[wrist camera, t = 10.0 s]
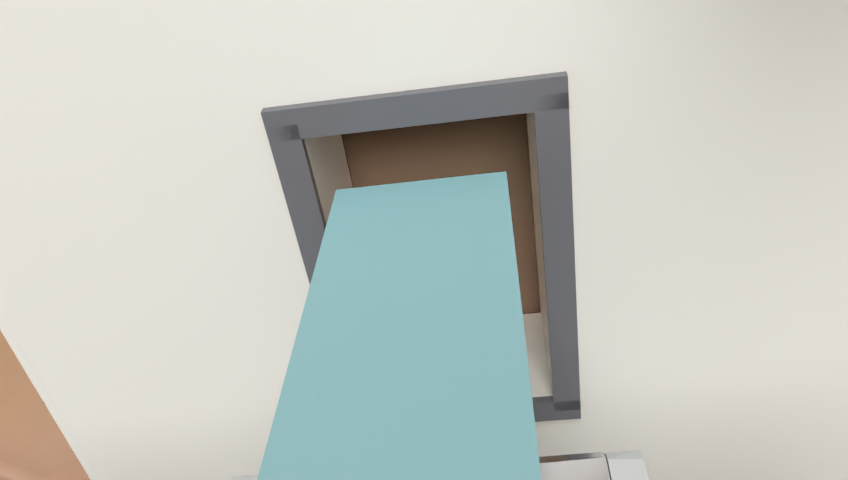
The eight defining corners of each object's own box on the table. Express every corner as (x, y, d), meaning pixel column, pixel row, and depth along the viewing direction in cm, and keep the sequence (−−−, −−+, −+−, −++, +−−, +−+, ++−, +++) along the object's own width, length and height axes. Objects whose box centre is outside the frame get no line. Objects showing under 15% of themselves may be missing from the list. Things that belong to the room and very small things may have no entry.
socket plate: (997, -342, 12) (1154, -367, 9) (823, 431, 22) (874, 528, 19) (-143, -147, 14) (-283, -120, 11) (171, 474, 24) (135, 565, 21)
